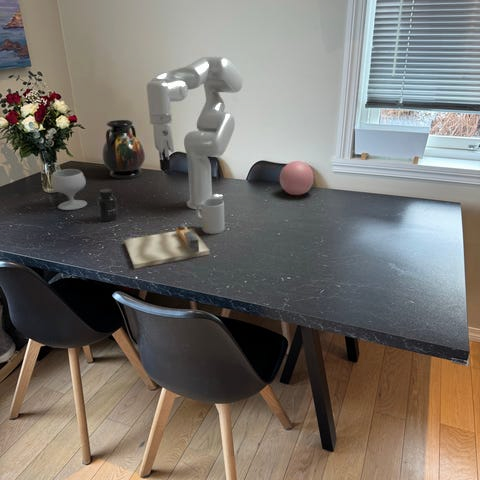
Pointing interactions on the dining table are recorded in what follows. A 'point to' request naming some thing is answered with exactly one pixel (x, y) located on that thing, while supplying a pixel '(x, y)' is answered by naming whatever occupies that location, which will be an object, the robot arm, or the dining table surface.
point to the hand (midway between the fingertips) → (165, 169)
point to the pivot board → (165, 248)
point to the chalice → (69, 187)
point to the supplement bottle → (107, 205)
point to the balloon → (296, 178)
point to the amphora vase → (123, 150)
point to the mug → (211, 215)
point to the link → (182, 234)
